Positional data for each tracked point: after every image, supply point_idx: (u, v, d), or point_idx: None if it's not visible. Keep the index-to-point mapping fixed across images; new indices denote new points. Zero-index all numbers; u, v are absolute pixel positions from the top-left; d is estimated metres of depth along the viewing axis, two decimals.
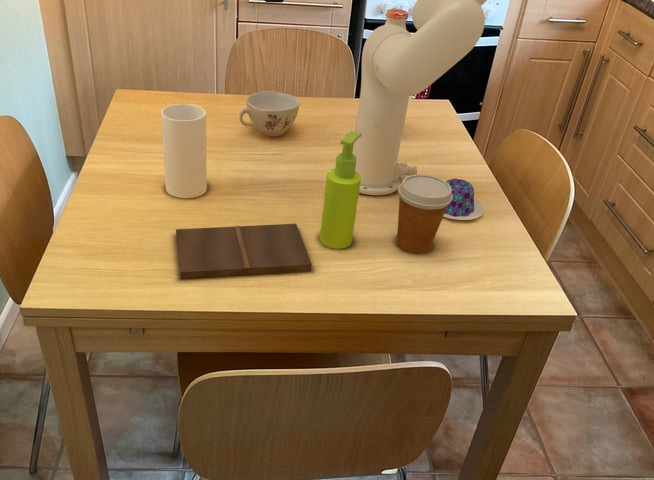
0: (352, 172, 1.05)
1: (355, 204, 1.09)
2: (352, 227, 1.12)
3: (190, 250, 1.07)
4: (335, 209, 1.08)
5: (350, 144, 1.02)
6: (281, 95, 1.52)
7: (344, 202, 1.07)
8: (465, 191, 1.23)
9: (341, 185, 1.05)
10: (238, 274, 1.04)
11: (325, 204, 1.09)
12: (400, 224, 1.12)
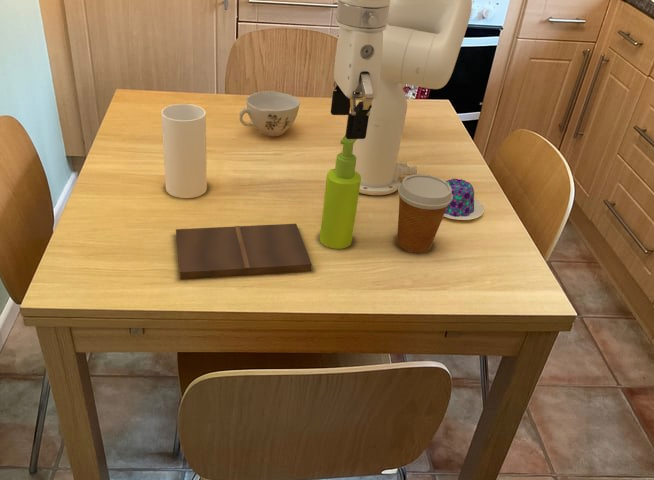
0: (352, 172, 1.05)
1: (355, 204, 1.09)
2: (352, 227, 1.12)
3: (190, 250, 1.07)
4: (335, 209, 1.08)
5: (350, 144, 1.02)
6: (281, 95, 1.52)
7: (344, 202, 1.07)
8: (465, 191, 1.23)
9: (341, 185, 1.05)
10: (238, 274, 1.04)
11: (325, 204, 1.09)
12: (400, 224, 1.12)
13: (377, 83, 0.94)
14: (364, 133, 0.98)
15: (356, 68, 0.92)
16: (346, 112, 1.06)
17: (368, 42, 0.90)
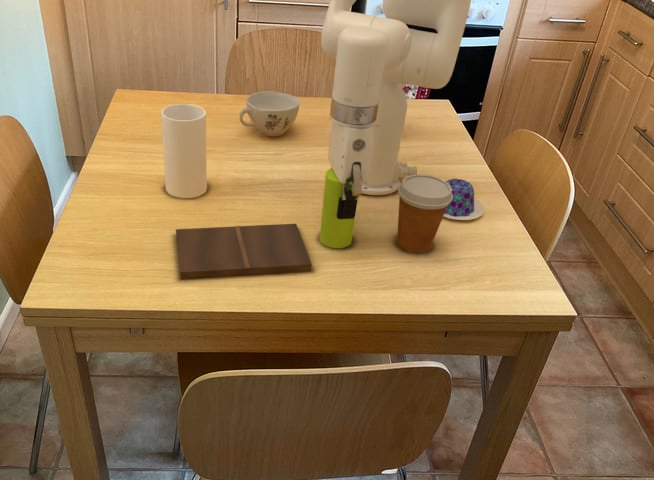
0: None
1: None
2: (352, 226, 1.12)
3: (190, 250, 1.07)
4: (334, 208, 1.08)
5: None
6: (281, 95, 1.52)
7: None
8: (465, 191, 1.23)
9: (340, 184, 1.05)
10: (238, 274, 1.04)
11: (324, 203, 1.09)
12: (400, 224, 1.12)
13: (368, 171, 1.02)
14: (353, 214, 1.08)
15: (349, 159, 1.00)
16: None
17: (359, 137, 0.98)
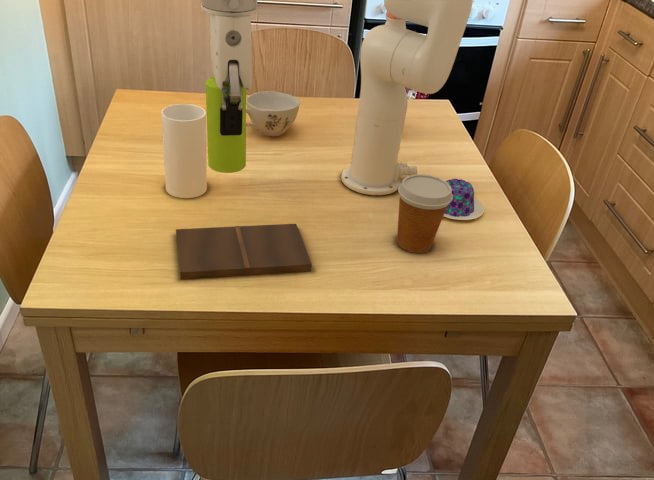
0: None
1: None
2: (242, 146, 0.96)
3: (190, 250, 1.07)
4: (217, 122, 0.92)
5: None
6: (281, 95, 1.52)
7: None
8: (465, 191, 1.23)
9: (220, 91, 0.89)
10: (238, 274, 1.04)
11: (207, 118, 0.93)
12: (400, 224, 1.12)
13: (249, 73, 0.86)
14: (240, 129, 0.92)
15: (223, 56, 0.84)
16: None
17: (232, 27, 0.82)
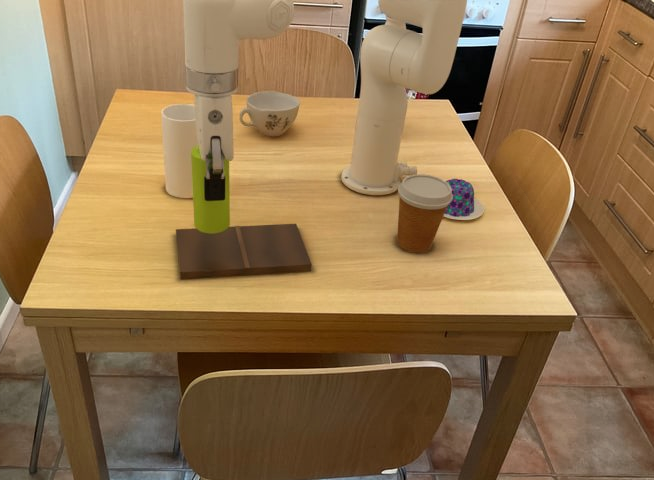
0: None
1: (225, 183, 0.98)
2: (226, 209, 1.01)
3: (190, 250, 1.07)
4: (201, 188, 0.98)
5: None
6: (281, 95, 1.52)
7: None
8: (465, 191, 1.23)
9: (204, 161, 0.95)
10: (238, 274, 1.04)
11: (192, 184, 0.99)
12: (400, 224, 1.12)
13: (230, 146, 0.92)
14: (223, 195, 0.98)
15: (206, 133, 0.90)
16: None
17: (214, 107, 0.88)
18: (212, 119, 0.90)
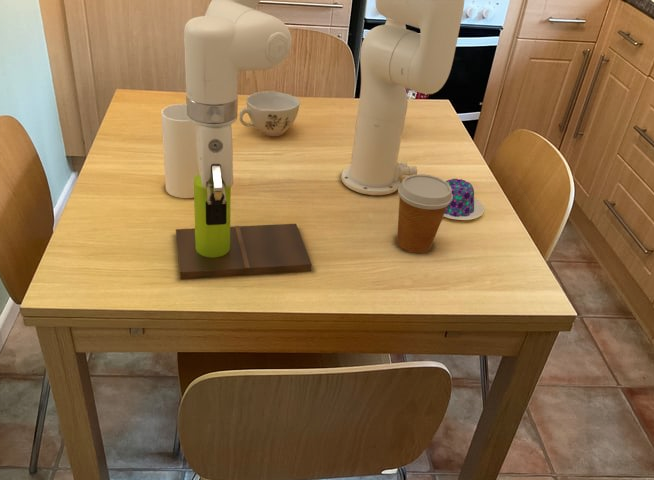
0: None
1: None
2: (226, 234, 1.04)
3: (190, 250, 1.07)
4: (203, 215, 1.01)
5: None
6: (281, 95, 1.52)
7: None
8: (465, 191, 1.23)
9: (206, 190, 0.98)
10: (238, 274, 1.04)
11: (195, 210, 1.02)
12: (400, 224, 1.12)
13: (230, 173, 0.94)
14: (224, 219, 0.99)
15: (206, 161, 0.93)
16: None
17: (215, 137, 0.91)
18: (212, 147, 0.93)
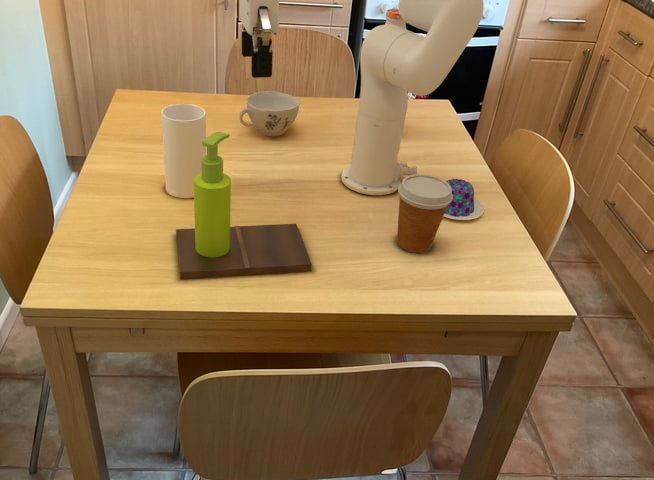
0: (218, 176, 0.98)
1: (226, 210, 1.01)
2: (226, 234, 1.04)
3: (190, 250, 1.07)
4: (203, 215, 1.01)
5: (211, 146, 0.95)
6: (281, 95, 1.52)
7: (212, 208, 1.00)
8: (465, 191, 1.23)
9: (206, 190, 0.98)
10: (238, 274, 1.04)
11: (195, 210, 1.02)
12: (400, 224, 1.12)
13: (277, 18, 0.94)
14: (270, 71, 0.98)
15: (253, 3, 0.92)
16: None
17: None
18: None
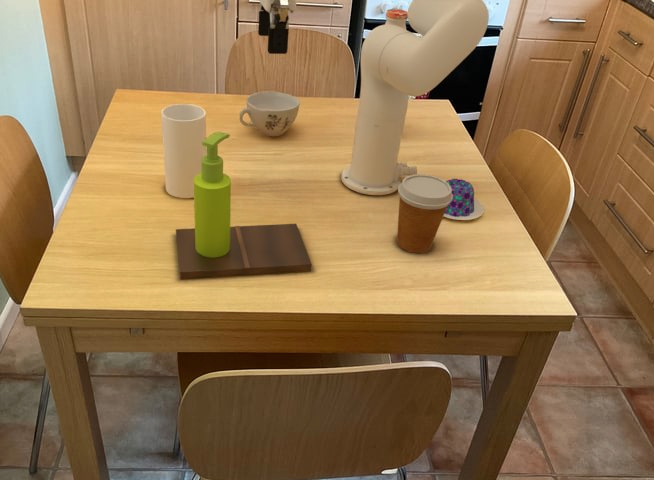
0: (218, 176, 0.98)
1: (226, 210, 1.01)
2: (226, 234, 1.04)
3: (190, 250, 1.07)
4: (203, 215, 1.01)
5: (211, 146, 0.95)
6: (281, 95, 1.52)
7: (212, 208, 1.00)
8: (465, 191, 1.23)
9: (206, 190, 0.98)
10: (238, 274, 1.04)
11: (195, 210, 1.02)
12: (400, 224, 1.12)
13: None
14: (285, 48, 1.02)
15: None
16: None
17: None
18: None
